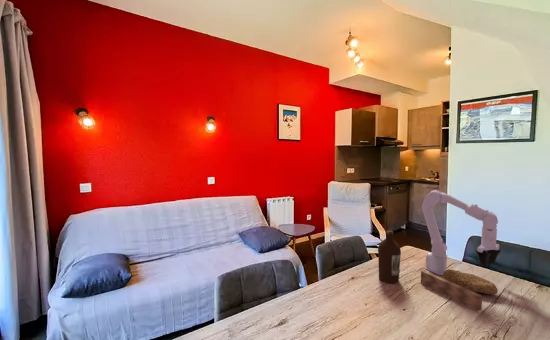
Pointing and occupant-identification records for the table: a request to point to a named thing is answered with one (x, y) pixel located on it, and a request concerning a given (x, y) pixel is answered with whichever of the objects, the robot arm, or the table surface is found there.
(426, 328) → the table surface
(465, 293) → the walnut board
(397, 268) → the olive oil
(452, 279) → the brown oblong lump
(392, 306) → the table surface
